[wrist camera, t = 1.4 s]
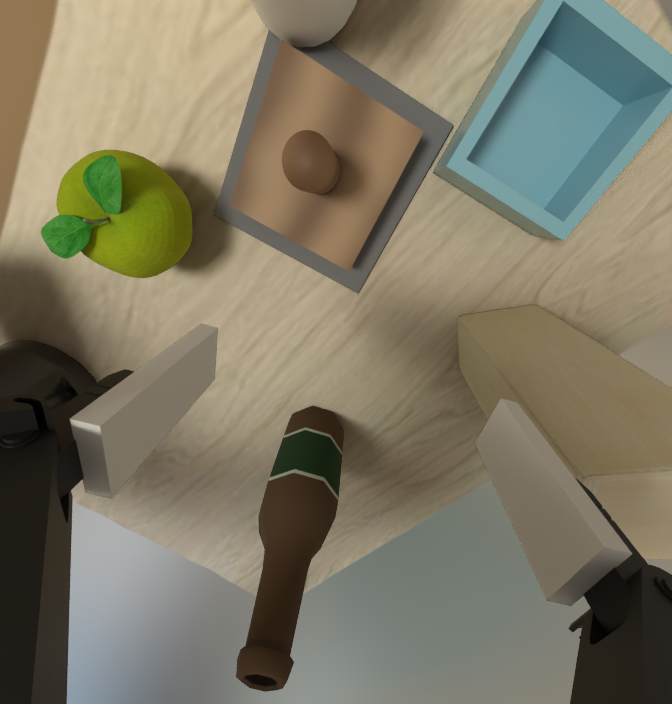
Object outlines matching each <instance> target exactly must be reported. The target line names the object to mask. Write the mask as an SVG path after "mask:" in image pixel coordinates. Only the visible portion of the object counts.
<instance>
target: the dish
mask: <svg viewBox="0 0 672 704" xmlns="http://www.w3.org/2000/svg"><path fill="white" fill-rule="evenodd" d="M671 111H672V54H671V53H669V52H668V51H667V50H666V49H664V48H663V47H662V46H660V45H659V44H658V43H657V42H655V41H654V40H653V39H652V38H650V37H649V36H648V35H647V34H645V33H644V32H643V31H642V30H640V29H639V28H638V27H637V26H635V25H634V24H633V23H632V22H630V21H629V20H628V19H627V18H625V17H624V16H623V15H622V14H620V13H619V12H618V11H617V10H615V9H614V8H613V7H611V6H610V5H609V4H608V3H606V2H605V1H604V0H536V1H535V2H534V4H533V5H532V6H531V7H530V8H529V9H528V11H527V12H526V13H525V14H524V15H523V17H522V18H521V20H520V22H519V24H518V25H517V27H516V29H515V31H514V32H513V34H512V36H511V37H510V39H509V41H508V43H507V44H506V46H505V48H504V50H503V51H502V53H501V55H500V57H499V58H498V60H497V62H496V63H495V65H494V67H493V69H492V70H491V72H490V74H489V76H488V77H487V79H486V81H485V82H484V84H483V86H482V88H481V89H480V91H479V93H478V95H477V96H476V98H475V100H474V102H473V103H472V105H471V107H470V108H469V110H468V112H467V114H466V115H465V117H464V119H463V121H462V122H461V124H460V126H459V128H458V129H457V131H456V133H455V134H454V136H453V138H452V140H451V141H450V143H449V145H448V147H447V148H446V150H445V152H444V153H443V155H442V157H441V159H440V160H439V162H438V164H437V166H436V167H435V169H434V171H433V173H434V174H435V175H437V176H439V177H440V178H442V179H443V180H445V181H447V182H448V183H450V184H451V185H453V186H455V187H456V188H458V189H459V190H461V191H463V192H464V193H466V194H467V195H469V196H470V197H472V198H474V199H475V200H477V201H478V202H480V203H482V204H483V205H485V206H486V207H488V208H490V209H491V210H493V211H494V212H496V213H497V214H499V215H501V216H502V217H504V218H505V219H507V220H509V221H510V222H512V223H513V224H515V225H517V226H518V227H520V228H521V229H523V230H525V231H526V232H528V233H529V234H531V235H534V236H540V237H545V238H550V239H556V240H561V241H564V240H565V239H566V237H567V236H568V235H569V234H570V233H571V231H572V230H573V229H574V228H575V227H576V225H577V224H578V223H579V222H580V221H581V219H582V218H583V217H584V216H585V215H586V213H587V212H588V211H589V210H590V209H591V207H592V206H593V205H594V204H595V203H596V201H597V200H598V199H599V198H600V197H601V195H602V194H603V193H604V192H605V191H606V189H607V188H608V187H609V186H610V185H611V183H612V182H613V181H614V180H615V179H616V177H617V176H618V175H619V174H620V173H621V171H622V170H623V169H624V168H625V167H626V165H627V164H628V163H629V162H630V161H631V159H632V158H633V157H634V156H635V155H636V153H637V152H638V151H639V150H640V149H641V147H642V146H643V145H644V144H645V143H646V141H647V140H648V139H649V138H650V137H651V135H652V134H653V133H654V132H655V131H656V129H657V128H658V127H659V126H660V125H661V123H662V122H663V121H664V120H665V119H666V117H667V116H668V115H669V114H670V113H671Z"/></svg>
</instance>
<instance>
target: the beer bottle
mask: <svg viewBox="0 0 672 704" xmlns="http://www.w3.org/2000/svg"><path fill="white" fill-rule="evenodd" d="M343 439H344V430H343V428H342V426H341V425H340V423H339V422H338V420H337V419H336V417H335V415H334V414H333V412H330V411H327V410H323V409H320V408H317V407H313V406H311V407H309V408H306V409H304V410H301V411H299V412H296V413H294V414H292V416H291V418H290V421H289V423H288V426H287V429H286V432H285V434H284V437H283V440H282V443H281V446H280V449H279V452H278V455H277V458H276V460H275V463H274V466H273V469H272V472H271V475H270V478H269V481H268V484H267V488H266V491H265V495H264V498H263V502H262V505H261V509H260V513H259V533H260V536H261V539H262V543H263V546H264V549H265V553H264V561H263V570H262V574H261V579H260V583H259V588H258V592H257V597H256V601H255V606H254V610H253V615H252V619H251V624H250V628H249V633H248V638H247V642H246V646H245V647H243V648H242V649H241V650H240V653H239V656H238V659H237V673H236V677H237V678H238V679H239V680H240V681H241V682H243V683H244V684H246V685H247V686H248V687H249V688H253V689H257V690H261V691H273V690H279V689H282V688H283V687H284V685H285V684H286V682H287V680H288V677H289V674H290V672H291V669H292V666H293V663H294V662H293V660H292V658H291V657H290V653H291V648H292V643H293V638H294V633H295V629H296V624H297V619H298V614H299V609H300V605H301V600H302V595H303V591H304V586H305V581H306V576H307V572H308V568H309V565H310V562H311V559H312V558H313V557H314V555H315V554H316V553H317V552H318V551H319V550H320V549H321V547H322V544H323V542H324V540H325V538H326V536H327V534H328V532H329V530H330V528H331V525H332V523H333V521H334V519H335V516H336V510H337V505H338V497H339V485H340V474H341V462H342V451H343Z"/></svg>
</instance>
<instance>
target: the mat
mask: <svg viewBox="0 0 672 704" xmlns="http://www.w3.org/2000/svg"><path fill="white" fill-rule="evenodd" d="M280 43H281V40H280V39H279V38H278V37H277V36H276V35H275V34H274V33H272V32H271V31H270V30H269V32H268V35H267V38H266V42H265V45H264V49H263V52H262V55H261V59H260V62H259V65H258V69H257V72H256V75H255V79H254V82H253V86H252V89H251V92H250V96H249V99H248V102H247V106H246V109H245V112H244V116H243V119H242V123H241V126H240V129H239V133H238V136H237V139H236V143H235V146H234V149H233V153H232V156H231V160H230V163H229V166H228V170H227V173H226V176H225V180H224V183H223V186H222V190H221V193H220V196H219V200H218V203H217V207H216V210H215V213H214V216H216V217H218V218H220V219H222V220H224V221H225V222H227V223H229V224H231V225H233V226H235V227H236V228H238V229H240V230H242V231H244V232H246V233H248V234H249V235H251V236H253V237H255V238H257V239H259V240H260V241H262V242H264V243H266V244H268V245H270V246H272V247H273V248H275V249H277V250H279V251H281V252H283V253H284V254H286V255H288V256H290V257H292V258H294V259H296V260H297V261H299V262H301V263H303V264H305V265H307V266H308V267H310V268H312V269H314V270H316V271H318V272H320V273H321V274H323V275H325V276H327V277H329V278H331V279H332V280H334V281H336V282H338V283H340V284H342V285H344V286H345V287H347V288H349V289H351V290H353V291H355V292H356V293H358V292H359V290H360V288H361V287H362V285H363V283H364V281H365V280H366V278H367V276H368V274H369V273H370V271H371V269H372V267H373V266H374V264H375V262H376V260H377V259H378V257H379V255H380V253H381V252H382V250H383V248H384V246H385V245H386V243H387V241H388V239H389V237H390V236H391V234H392V232H393V230H394V229H395V227H396V225H397V223H398V222H399V220H400V218H401V216H402V215H403V213H404V211H405V209H406V208H407V206H408V204H409V202H410V201H411V199H412V197H413V195H414V194H415V192H416V190H417V188H418V187H419V185H420V183H421V181H422V180H423V178H424V176H425V174H426V172H427V171H428V169H429V167H430V165H431V164H432V162H433V160H434V158H435V157H436V155H437V153H438V151H439V150H440V148H441V146H442V144H443V143H444V141H445V139H446V137H447V136H448V134H449V132H450V130H451V129H452V127H453V124H451V123H450V122H448V121H447V120H445V119H444V118H442V117H441V116H439V115H438V114H436V113H435V112H433V111H432V110H430V109H429V108H427V107H426V106H424V105H423V104H421V103H420V102H418V101H416V100H415V99H413V98H412V97H410V96H409V95H407V94H406V93H404V92H403V91H401V90H400V89H398V88H397V87H395V86H394V85H392V84H391V83H389V82H388V81H386V80H385V79H383V78H382V77H380V76H379V75H377V74H376V73H374V72H373V71H371V70H370V69H368V68H367V67H365V66H364V65H362V64H361V63H359V62H358V61H356V60H355V59H353V58H352V57H350V56H349V55H347V54H346V53H344V52H343V51H341V50H339V49H338V48H336V47H335V46H333V45H332V44H330V43H329V42H327V41H326V42H324V43H322V44H320V45H317V46H315V47H296V46H293V45H291V44H290V45H291V46H293V47H294V48H296V49H297V50H299V51H300V52H302V53H304V54H305V55H307V56H308V57H310V58H311V59H313V60H314V61H316V62H317V63H319V64H320V65H322V66H324V67H325V68H327V69H328V70H330V71H331V72H333V73H334V74H336V75H337V76H339V77H341V78H342V79H344V80H345V81H347V82H348V83H350V84H351V85H353V86H354V87H356V88H358V89H359V90H361V91H362V92H364V93H365V94H367V95H368V96H370V97H371V98H373V99H374V100H376V101H378V102H379V103H381V104H382V105H384V106H385V107H387V108H388V109H390V110H391V111H393V112H395V113H396V114H398V115H399V116H401V117H402V118H404V119H405V120H407V121H408V122H410V123H412V124H413V125H415V126H416V127H418V128H419V129H421V130H422V131H424V133H423V135H422V137H421V138H420V140H419V142H418V144H417V146H416V148H415V150H414V152H413V153H412V155H411V157H410V159H409V161H408V163H407V165H406V166H405V168H404V170H403V172H402V174H401V176H400V178H399V180H398V181H397V183H396V185H395V187H394V189H393V191H392V193H391V194H390V196H389V198H388V200H387V202H386V204H385V206H384V207H383V209H382V211H381V213H380V215H379V217H378V219H377V221H376V222H375V224H374V226H373V228H372V230H371V232H370V234H369V235H368V237H367V239H366V241H365V243H364V245H363V247H362V249H361V250H360V252H359V254H358V256H357V258H356V260H355V262H354V263H353V265H352V267H351V269H350V271H347V270H345V269H343V268H342V267H340V266H338V265H336V264H334V263H332V262H331V261H329V260H327V259H325V258H323V257H322V256H320V255H318V254H316V253H314V252H312V251H311V250H309V249H307V248H305V247H303V246H302V245H300V244H298V243H296V242H294V241H292V240H291V239H289V238H287V237H285V236H283V235H282V234H280V233H278V232H276V231H274V230H273V229H271V228H269V227H267V226H265V225H263V224H262V223H260V222H258V221H256V220H254V219H253V218H251V217H249V216H247V215H245V214H243V213H242V212H240V211H238V210H236V209H234V208H233V207H231V206H229V205H230V202H231V198H232V195H233V192H234V189H235V186H236V183H237V179H238V176H239V173H240V170H241V167H242V164H243V160H244V157H245V154H246V151H247V148H248V145H249V141H250V138H251V135H252V132H253V129H254V125H255V122H256V119H257V116H258V113H259V110H260V106H261V103H262V100H263V97H264V94H265V91H266V87H267V84H268V81H269V78H270V75H271V72H272V68H273V65H274V62H275V59H276V56H277V53H278V49H279V46H280ZM288 44H289V43H288Z"/></svg>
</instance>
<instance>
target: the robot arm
mask: <svg viewBox="0 0 672 704" xmlns="http://www.w3.org/2000/svg"><path fill="white" fill-rule="evenodd" d="M217 334H218V328H216V327H212V326H208V325H204V324H200V325H198V326H197V327H196V328H194V329H193V330H192V331H190V332H189V333H187V334H186V335H185V336H183V337H182V338H180V339H179V340H178V341H176V342H175V343H174V344H172V345H171V346H169V347H168V348H167V349H165V350H164V351H163V352H161V353H160V354H158V355H157V356H156V357H154V358H153V359H152V360H150V361H149V362H147V363H146V364H145V365H143V366H142V367H140V368H139V369H138V370H136V371H135V372H134V371H130V370H126V369H125V370H122V371H119V372H116V373H114V374H111V375H108V376H107V377H105V378H104V379H102V380H101V381H99V382H98V383H95V381H94V380H93V378H92V377H91V376H90V375H89V374H88V372H87V371H86V370H85V369H84V368H83V367H82V366H80V365H79V364H78V363H77V362H76V361H74V360H73V359H72V358H70V357H69V356H67V355H66V354H64V353H62V352H61V351H59V350H57V349H55V348H52V347H50V346H47V345H45V344H41V343H37V342H32V341H13V342H10V343H7V344H4V345H2V346H0V704H66V701H67V699H66V698H67V666H68V633H69V632H68V631H69V599H70V597H69V596H70V563H71V529H72V493H71V490H72V489H73V488H74V487H75V486H76V485H77V484H78V483H79V482H80V481H81V480H82V479H83V483H84V487H85V492H86V493H90V494H95V495H99V496H103V497H107V498H113V497H114V496H115V494H116V493H117V492H118V491H119V490H120V489H121V487H122V486H123V485H124V484H125V483H126V482H127V480H128V479H129V478H130V477H131V476H132V475H133V473H134V472H135V471H136V470H137V469H138V468H139V467H140V465H141V464H142V463H143V462H144V461H145V460H146V458H147V457H148V456H149V455H150V454H151V453H152V451H153V450H154V449H155V448H156V447H157V446H158V445H159V443H160V442H161V441H162V440H163V439H164V438H165V436H166V435H167V434H168V433H169V432H170V431H171V429H172V428H173V427H174V426H175V425H176V424H177V423H178V421H179V420H180V419H181V418H182V417H183V416H184V414H185V413H186V412H187V411H188V410H189V409H190V407H191V406H192V405H193V404H194V403H195V402H196V400H197V399H198V398H199V397H200V396H201V395H202V394H203V392H204V391H205V390H206V389H207V388H208V387H209V385H210V384H211V383H212V382H213V381H214V380H215V369H216V351H217ZM475 444H476V447H477V449H478V451H479V453H480V455H481V458H482V460H483V462H484V464H485V466H486V469H487V471H488V473H489V475H490V477H491V480H492V482H493V484H494V486H495V488H496V490H497V493H498V495H499V497H500V499H501V501H502V504H503V506H504V508H505V510H506V512H507V515H508V517H509V519H510V521H511V523H512V526H513V528H514V530H515V532H516V534H517V537H518V539H519V541H520V543H521V545H522V548H523V550H524V552H525V554H526V556H527V558H528V561H529V563H530V565H531V567H532V570H533V572H534V574H535V576H536V578H537V581H538V583H539V585H540V587H541V589H542V591H543V594H544V596H545V598H546V600H547V601H551V602H555V603H560V604H564V605H568V606H572V605H573V604H574V603H575V602H577V601H578V600H579V599H580V598H581V597H582V596H585V598H586V600H587V602H588V604H589V605H590V607H591V608H590V609H589V610H588V611H587V612H586V613H584V614H583V615H582V616H581V617H579V618H578V619H577V620H576V621H574V622H573V623H572V624H571V626H570V627H569V629H570V630H571V631H572V632H574V631H575V630H576V629H578V628H582V631H581V636H580V637H579V638H580V644H579V651H578V657H577V663H576V669H575V676H574V682H573V689H572V695H571V701H570V704H672V575H671V574H669V573H668V572H666V571H664V570H662V569H660V568H658V567H655V566H652V565H648V564H647V562H646V561H645V560H644V558H643V557H642V556H641V555H640V553H639V552H638V551H637V550H636V548H635V547H634V546H633V544H632V543H631V542H630V541H629V539H628V538H627V537H626V535H625V534H624V533H623V532H622V530H621V529H620V528H619V527H618V525H617V524H616V523H615V521H613V520H611V516H610V515H609V514H608V512H607V511H606V510H605V509H603V508H602V505H601V504H600V502H599V501H598V500H597V498H596V497H595V496H594V495H593V493H592V492H591V491H590V490H589V489H588V488H586V487H585V486H584V485H583V484H582V483H581V482H580V481H579V480H578V479H576V478H574V476H573V475H572V474H571V472H570V471H569V470H568V469H567V467H566V466H565V465H564V463H563V462H562V461H561V459H560V458H559V457H558V455H557V454H556V453H555V451H554V450H553V449H552V447H551V446H550V445H549V444H548V442H547V441H546V440H545V438H544V437H543V436H542V434H541V433H540V432H539V430H538V429H537V428H536V426H535V425H534V424H533V423H532V421H531V420H530V419H529V417H528V416H527V415H526V413H525V412H524V411H523V409H522V408H521V407H520V405H519V404H518V403H517V402H513V401H509V400H505V399H500V401H499V403H498V404H497V406H496V408H495V410H494V411H493V413H492V415H491V416H490V418H489V420H488V421H487V423H486V425H485V426H484V428H483V430H482V432H481V433H480V435H479V437H478V438H477V440H476V442H475Z"/></svg>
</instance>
